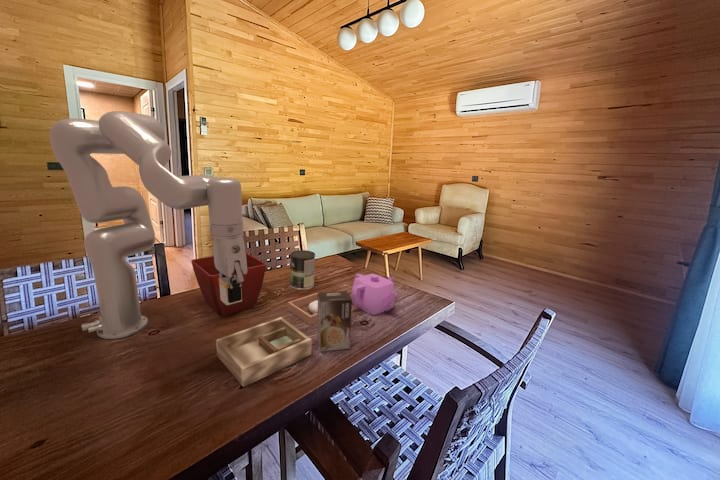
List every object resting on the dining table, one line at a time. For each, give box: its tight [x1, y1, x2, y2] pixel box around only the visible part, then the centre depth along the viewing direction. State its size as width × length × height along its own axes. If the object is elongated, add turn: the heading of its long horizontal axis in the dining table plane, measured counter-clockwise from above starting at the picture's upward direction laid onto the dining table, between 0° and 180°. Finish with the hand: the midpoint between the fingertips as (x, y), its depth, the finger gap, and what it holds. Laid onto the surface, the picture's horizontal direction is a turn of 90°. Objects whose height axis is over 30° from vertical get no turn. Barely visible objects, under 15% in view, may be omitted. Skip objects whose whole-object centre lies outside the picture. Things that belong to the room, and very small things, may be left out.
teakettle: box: [350, 273, 399, 316], centre depth 121 cm, size 17×17×12 cm
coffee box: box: [316, 290, 353, 353], centre depth 94 cm, size 9×6×16 cm
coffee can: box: [289, 249, 316, 291], centre depth 135 cm, size 10×10×14 cm
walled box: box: [215, 316, 313, 388], centre depth 89 cm, size 20×16×5 cm
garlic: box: [307, 300, 318, 315], centre depth 116 cm, size 8×7×4 cm
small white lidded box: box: [219, 277, 242, 305], centre depth 82 cm, size 4×4×6 cm
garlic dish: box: [287, 292, 319, 326], centre depth 115 cm, size 14×14×3 cm
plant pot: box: [191, 252, 267, 317], centre depth 113 cm, size 19×19×17 cm
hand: (231, 297), depth 83 cm, fingers closed on small white lidded box, 4 cm apart
